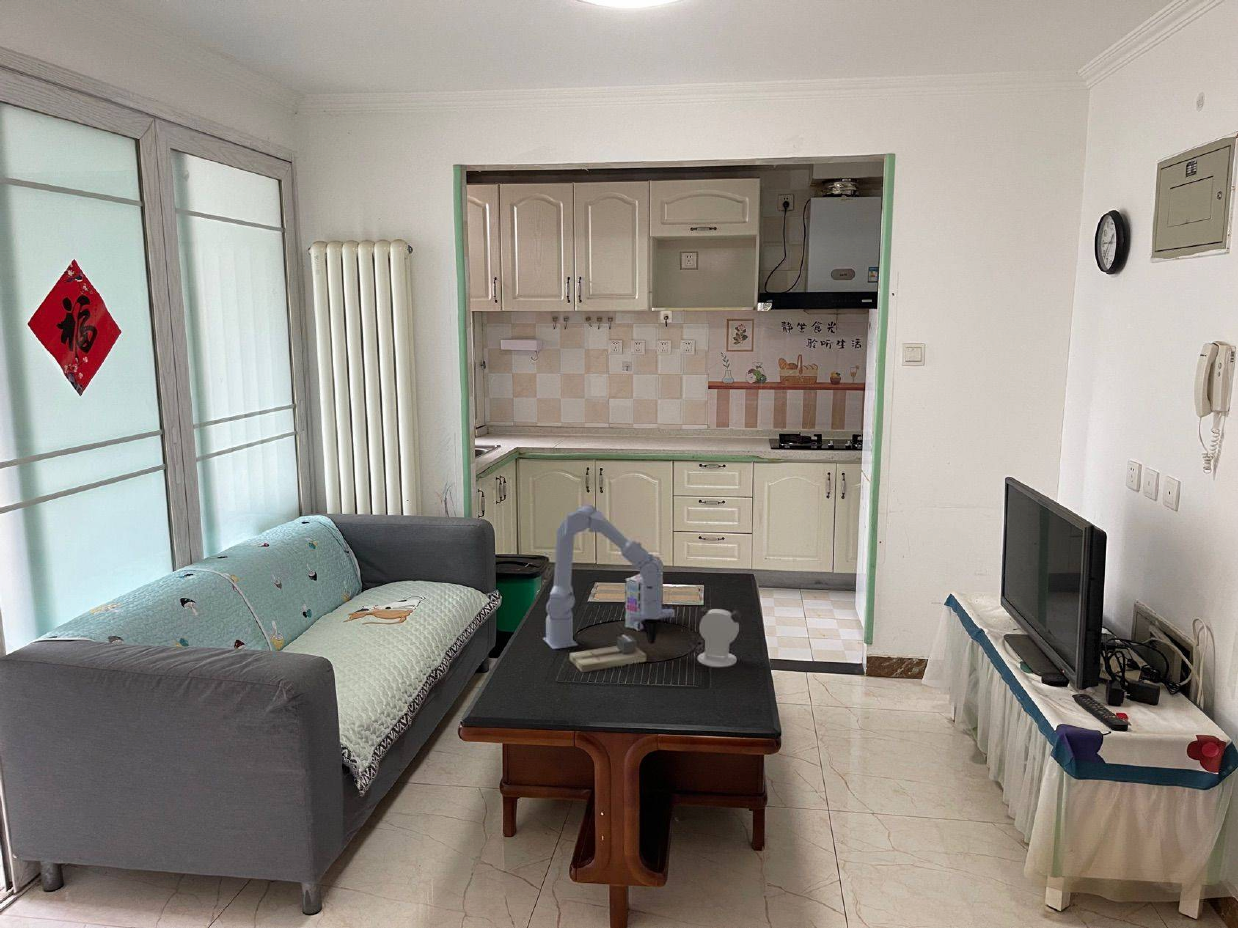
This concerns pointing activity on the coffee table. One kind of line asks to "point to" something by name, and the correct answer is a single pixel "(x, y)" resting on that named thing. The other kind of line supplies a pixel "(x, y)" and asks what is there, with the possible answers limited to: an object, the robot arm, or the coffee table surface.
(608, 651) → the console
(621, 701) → the coffee table surface
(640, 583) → the candy box
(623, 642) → the fader tab
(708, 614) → the panda figurine
